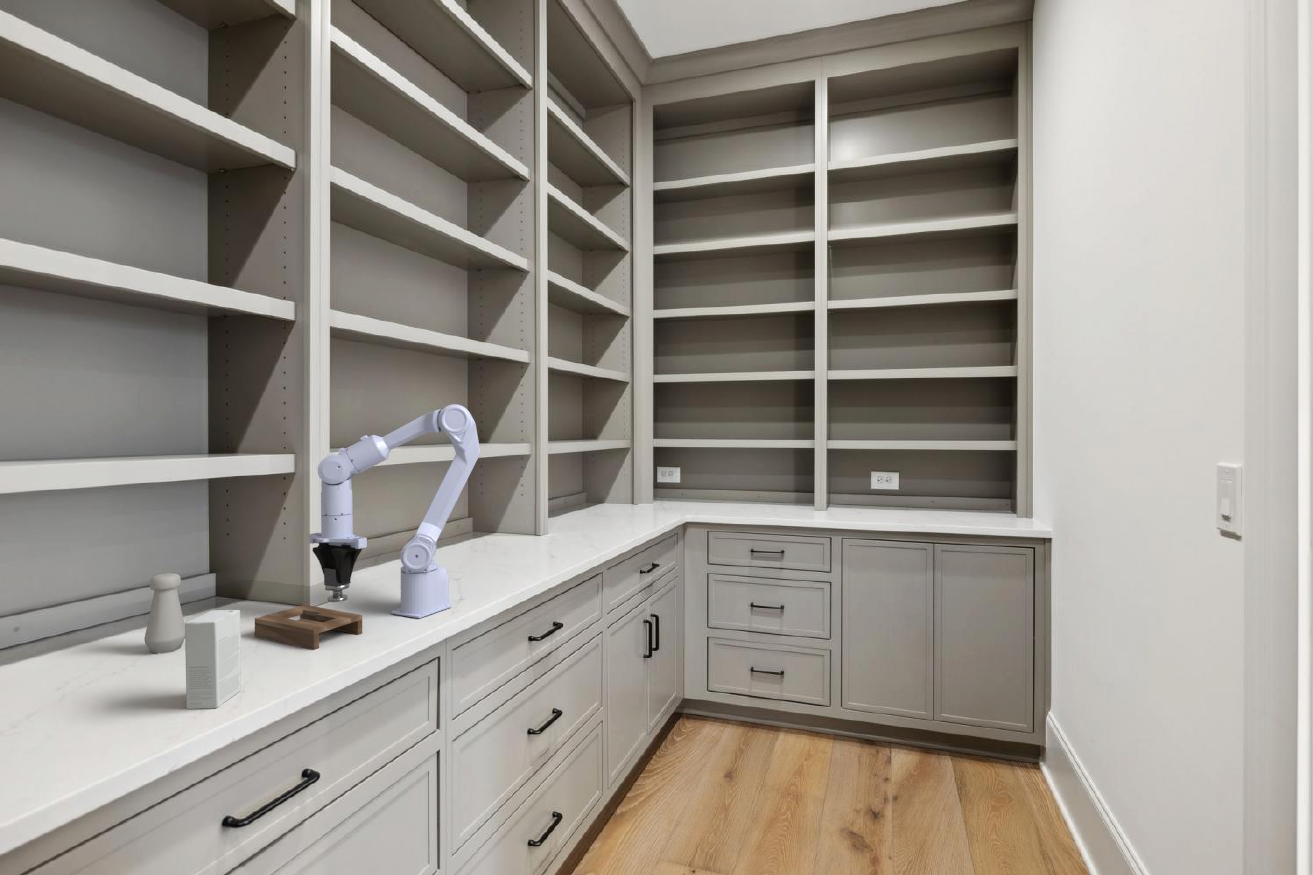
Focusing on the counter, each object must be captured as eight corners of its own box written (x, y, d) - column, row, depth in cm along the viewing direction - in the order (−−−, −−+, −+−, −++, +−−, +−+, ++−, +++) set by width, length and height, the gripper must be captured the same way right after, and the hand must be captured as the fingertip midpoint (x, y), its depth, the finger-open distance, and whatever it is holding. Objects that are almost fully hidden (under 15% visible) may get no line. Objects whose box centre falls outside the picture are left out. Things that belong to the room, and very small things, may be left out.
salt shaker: (163, 656, 108) (162, 579, 108) (135, 654, 109) (134, 577, 109) (194, 645, 114) (194, 571, 114) (167, 642, 115) (167, 570, 115)
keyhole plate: (304, 621, 127) (304, 604, 127) (362, 633, 121) (362, 614, 121) (254, 636, 118) (254, 618, 118) (313, 649, 112) (313, 630, 112)
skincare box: (211, 691, 94) (211, 609, 94) (242, 690, 94) (241, 609, 94) (184, 709, 88) (183, 622, 88) (216, 709, 88) (216, 621, 88)
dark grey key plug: (339, 595, 134) (339, 564, 133) (354, 598, 132) (354, 566, 132) (320, 601, 130) (320, 568, 129) (335, 603, 128) (335, 570, 128)
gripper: (294, 514, 130) (295, 581, 130) (345, 518, 124) (345, 589, 124) (325, 510, 136) (326, 574, 136) (375, 514, 130) (375, 581, 130)
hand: (337, 581), depth 131 cm, fingers closed on dark grey key plug, 3 cm apart
